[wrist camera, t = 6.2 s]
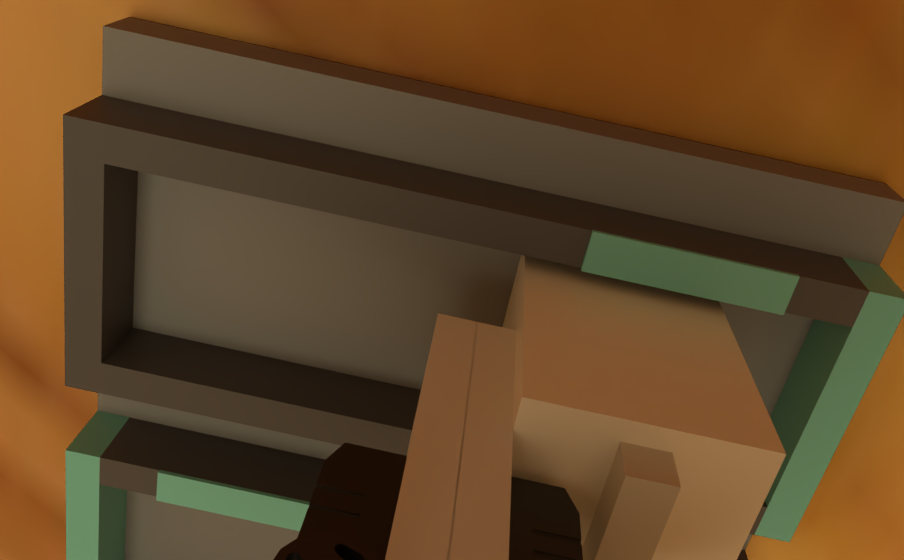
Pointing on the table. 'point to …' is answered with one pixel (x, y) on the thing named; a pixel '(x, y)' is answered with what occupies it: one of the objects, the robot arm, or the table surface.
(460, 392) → the robot arm
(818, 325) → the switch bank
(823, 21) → the table surface
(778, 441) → the beige rectangular block
